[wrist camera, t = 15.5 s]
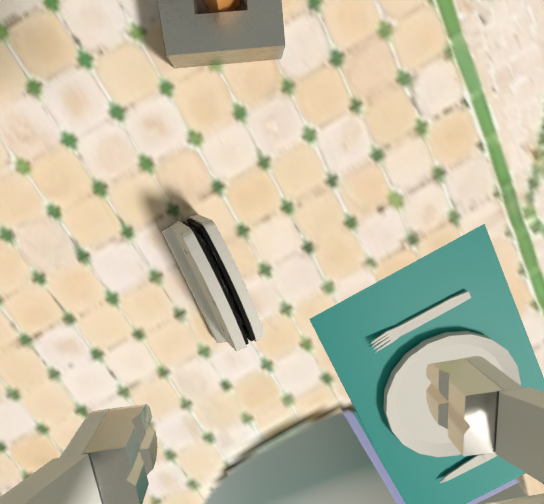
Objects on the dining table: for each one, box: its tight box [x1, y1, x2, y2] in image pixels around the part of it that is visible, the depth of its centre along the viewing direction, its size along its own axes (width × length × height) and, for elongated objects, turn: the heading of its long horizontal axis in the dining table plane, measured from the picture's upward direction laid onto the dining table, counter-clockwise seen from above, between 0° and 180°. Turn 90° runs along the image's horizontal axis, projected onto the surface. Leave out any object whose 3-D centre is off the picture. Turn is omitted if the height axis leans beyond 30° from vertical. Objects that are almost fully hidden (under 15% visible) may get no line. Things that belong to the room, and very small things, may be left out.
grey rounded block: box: [162, 215, 264, 351], centre depth 39 cm, size 17×5×10 cm, turn 22°
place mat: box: [310, 224, 544, 504], centre depth 49 cm, size 45×30×2 cm
